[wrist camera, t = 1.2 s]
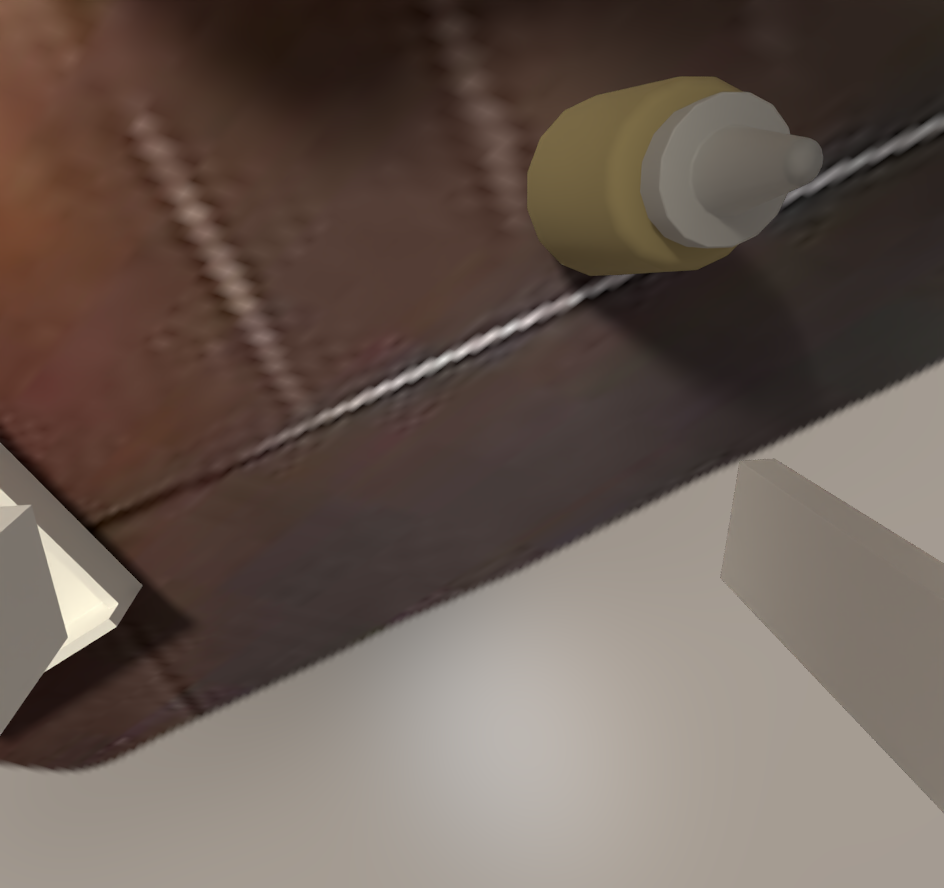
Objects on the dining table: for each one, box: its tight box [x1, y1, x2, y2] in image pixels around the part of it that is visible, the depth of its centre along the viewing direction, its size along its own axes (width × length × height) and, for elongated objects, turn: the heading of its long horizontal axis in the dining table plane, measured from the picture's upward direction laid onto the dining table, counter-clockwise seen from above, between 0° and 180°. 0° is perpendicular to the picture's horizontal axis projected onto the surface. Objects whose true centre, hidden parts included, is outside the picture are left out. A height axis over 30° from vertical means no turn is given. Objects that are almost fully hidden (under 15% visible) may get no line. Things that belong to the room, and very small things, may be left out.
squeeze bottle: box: [527, 76, 823, 276], centre depth 25 cm, size 8×8×18 cm
